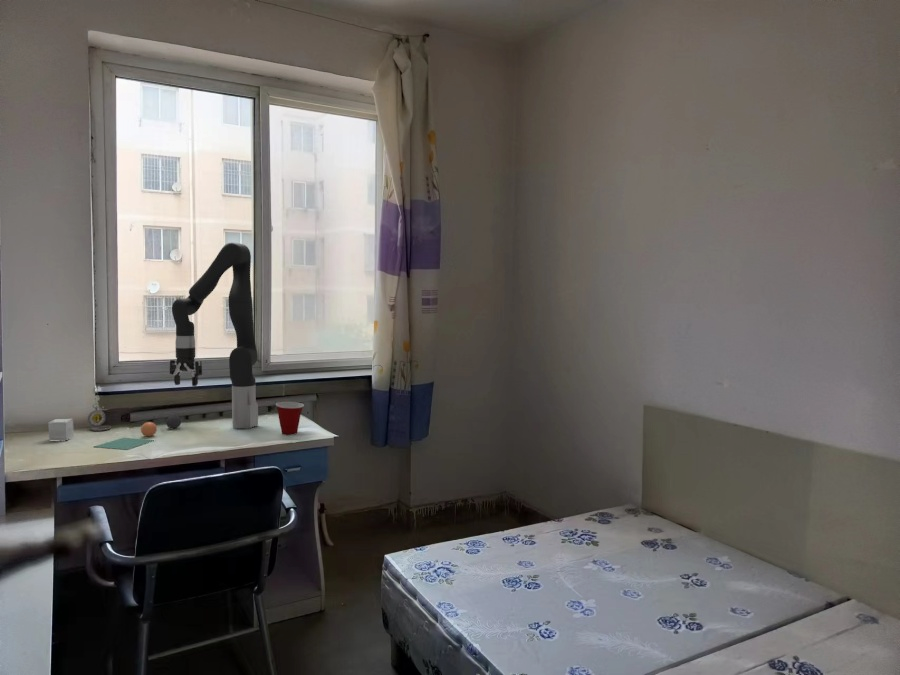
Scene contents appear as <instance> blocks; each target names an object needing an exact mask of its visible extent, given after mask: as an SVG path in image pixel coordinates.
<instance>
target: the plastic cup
mask: <svg viewBox="0 0 900 675" xmlns="http://www.w3.org/2000/svg"><path fill="white" fill-rule="evenodd" d="M275 406H276V410H277V413H278V421H279V426H280V431H281V434H282V435H283V434H294V435H296V434H295V433H297V434H298V431H299V425H300V419H301V414H302V410H303V408H304V406H305V404H303V403H302V402H301V403H300V402H297V401H281V402H280V401H278V402H276V403H275Z"/></svg>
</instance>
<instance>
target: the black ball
mask: <svg viewBox="0 0 900 675" xmlns="http://www.w3.org/2000/svg"><path fill="white" fill-rule="evenodd" d="M165 421H166V422H165V423H166V424H165V425H166V426H167V427H168V428H170V429H171V428H175V429H177V428H179V427H180V426H181V424H182V419H181V417H180V416H179V415H176V414H172V415H169V416H168V417H167V419H166V420H165Z"/></svg>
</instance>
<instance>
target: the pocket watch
mask: <svg viewBox="0 0 900 675" xmlns="http://www.w3.org/2000/svg"><path fill="white" fill-rule="evenodd" d="M95 405H98V406H95ZM94 406H95V407H94ZM99 407H100V404H98V403H95V404H93V405H92V408H94V410H92V411H90V413H88V416H87V422H88V424H89V425H90V426H91V431H93V432H103V431H108V430H110V429H111V428H112V427H111V425H103V424H104V423H105V422H106V419H107V418H106V416H107V415H106V414H105V412H104V411H102V410H100V409H99ZM99 427H109V428H105V429H95V428H99ZM102 430H103V431H102Z"/></svg>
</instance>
